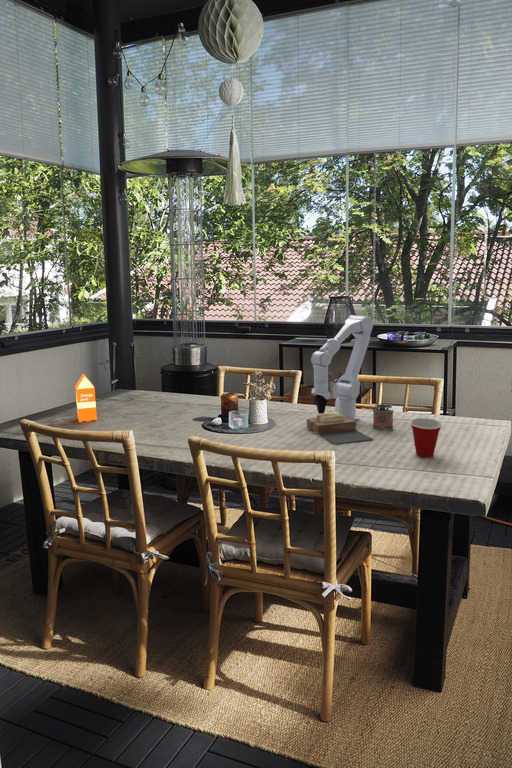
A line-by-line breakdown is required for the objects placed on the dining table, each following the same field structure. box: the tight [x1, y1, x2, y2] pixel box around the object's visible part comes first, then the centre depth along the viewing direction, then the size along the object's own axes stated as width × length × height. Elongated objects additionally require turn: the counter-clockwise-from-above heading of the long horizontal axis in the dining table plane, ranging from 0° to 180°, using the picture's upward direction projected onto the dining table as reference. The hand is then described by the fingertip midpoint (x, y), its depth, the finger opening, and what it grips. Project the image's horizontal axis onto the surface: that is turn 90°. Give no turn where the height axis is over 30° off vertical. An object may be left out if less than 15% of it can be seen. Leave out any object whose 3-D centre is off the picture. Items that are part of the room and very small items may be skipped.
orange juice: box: [74, 373, 98, 423], centre depth 292 cm, size 8×9×20 cm
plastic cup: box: [409, 417, 443, 459], centre depth 229 cm, size 11×11×12 cm
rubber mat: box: [318, 429, 374, 445], centre depth 255 cm, size 14×16×1 cm
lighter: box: [372, 403, 394, 431], centre depth 266 cm, size 8×3×10 cm, turn 70°
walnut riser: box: [306, 416, 357, 436], centre depth 266 cm, size 12×16×4 cm
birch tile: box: [316, 411, 344, 422], centre depth 267 cm, size 6×9×2 cm, turn 109°
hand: (321, 413), depth 275 cm, fingers closed
